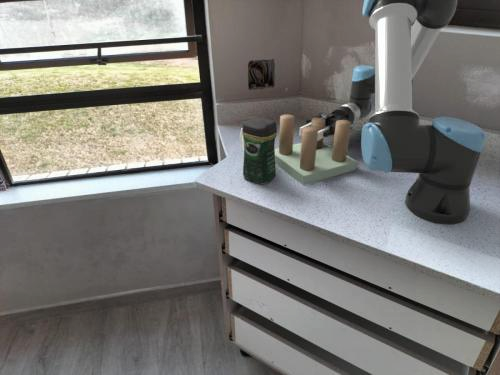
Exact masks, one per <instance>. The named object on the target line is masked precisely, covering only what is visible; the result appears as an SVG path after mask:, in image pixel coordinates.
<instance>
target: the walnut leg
mask: <svg viewBox="0 0 500 375" xmlns="http://www.w3.org/2000/svg"><path fill="white" fill-rule="evenodd" d="M311 127H314V128H317V129H318V131H320V130H322V129H324V128H326V127H325V119H323V118H312V120H311ZM323 142H324V138H322V139H320V140H318V141H317V147H316V150H318V149H322V147H323Z"/></svg>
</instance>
